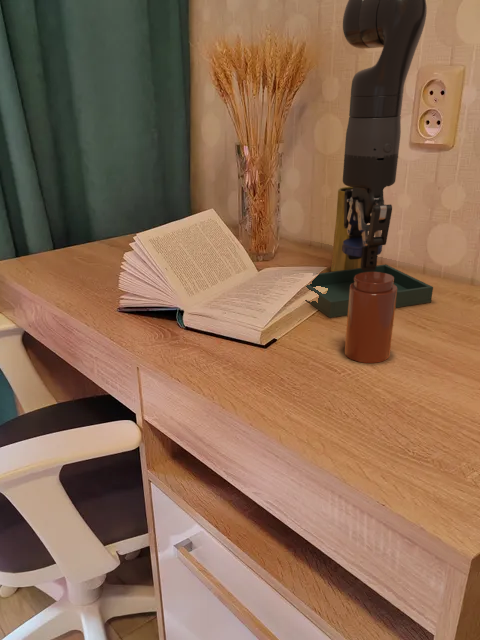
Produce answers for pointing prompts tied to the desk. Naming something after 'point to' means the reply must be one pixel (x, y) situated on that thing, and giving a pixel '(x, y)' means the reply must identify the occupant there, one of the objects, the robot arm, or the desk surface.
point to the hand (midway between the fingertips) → (361, 263)
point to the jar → (370, 317)
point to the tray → (340, 282)
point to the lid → (355, 247)
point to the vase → (342, 238)
